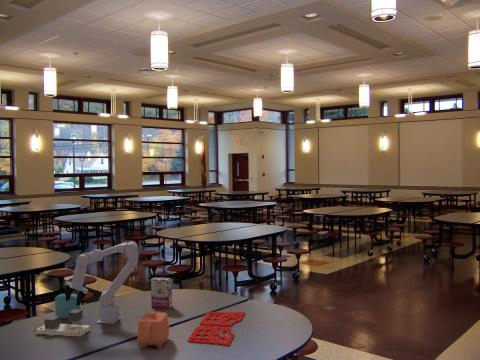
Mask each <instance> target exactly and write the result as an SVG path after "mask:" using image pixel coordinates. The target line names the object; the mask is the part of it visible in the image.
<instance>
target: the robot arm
mask: <svg viewBox="0 0 480 360" xmlns="http://www.w3.org/2000/svg"><path fill="white" fill-rule="evenodd" d="M139 252H140V249H139V245H138V244H137V242H136V241H134V240H130V241H128V242H127V241H125V242H122V243H119V244H117V245H113V246H111V247H108V248H106V249H103V250H102V249H99V248H98V249H97V248H94V249H93V250H92V251H89V252H84V253H82V254H79V255H78V256H77V258H76V259H75V260H76V261H75V267H74V271H73V274H72V279H71V281H69V280H68V281H65V282H64V286H63V291H64V294H65V299H66V301H69V300H70V297H71V294H73V291H74V290H76V291H78V292H76V294H77V302H76V306H79V305H80V306H81V304H82V302H83V300H84V299H85V297H86V296H87V295H88V292H89V289H87V288H86V287H84V281H85V276H86V273H87V267H88V264H93V263H96V262H99V261H103V259H104V257H107V256H110V255H113V254H116V253H121V254H123V255H124V253H125V255H126V257H127V263H126V264H125V265H124V267H123V268H122V270H121V271H120V272H119V273H118V274H117V276H116V277H115V278H114V280H113V281H112V282H111V283H110V285H109V286H108V287H107V288H106V289H104V290H103V291H102V292H101V295H100V296H99V298H98V301H99V318H100V319H99V320H98V321H96V323H97V324H108V325H109V324H110V325H113V324H115V323H117V322H118V321H119V320H121V317H120V314H121V313H120V306H119V304H116V303H115V302H114V300H113V298H114V297H115V295H116V293H117V291H119V290H120V288H121V287H122V285H123V284H124V282H126V281H127V278H128V277H129V276H130V274H131V273H133V271H134V270H135V268H136V267H137V265H138V264H139V256H140V255H139Z"/></svg>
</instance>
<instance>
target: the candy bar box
mask: <svg viewBox="0 0 480 360" xmlns="http://www.w3.org/2000/svg"><path fill="white" fill-rule="evenodd" d="M172 282H173V281H172V277H152V278H151V279H150V297H151V298H150V299H151V301H150V302H151V308H154V309H168V310H169V309H171V308H172V307H173V286H172Z"/></svg>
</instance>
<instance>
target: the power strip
mask: <svg viewBox="0 0 480 360" xmlns="http://www.w3.org/2000/svg"><path fill="white" fill-rule="evenodd" d="M35 329H36V330H35ZM34 330H35V334H36V333H48V334H59V335H73V336H81V337H83V336H84V335H85V334H84V333H86V332H87V333H88V331H89V332H90V331H91V325H90V324H89V325H86V324H78V325H72V323H71V324H69V323H61V318H60V316H56V315H55V316H54V315H49V316H48V317H46V318H45V319H44V324H43V325H42V326H40V327H37V328H36V327H35V328H34ZM87 333H86V334H87ZM83 334H84V335H83ZM82 335H83V336H82Z"/></svg>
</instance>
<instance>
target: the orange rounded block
mask: <svg viewBox="0 0 480 360" xmlns="http://www.w3.org/2000/svg"><path fill="white" fill-rule="evenodd" d="M169 322H170V321H169V317H168V313H167V312H162V311H150V312H145V313H144V314H142V316H140V318H139V320H138V323H137V324H138V325H137V335H136V338H137V340H136V341H137V343H138V345H140V346H141V348H147V347H148V346H155V347H156V348H162V347H163V345H164V343H166V341H167V339H168V337H169V336H170V323H169Z"/></svg>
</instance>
